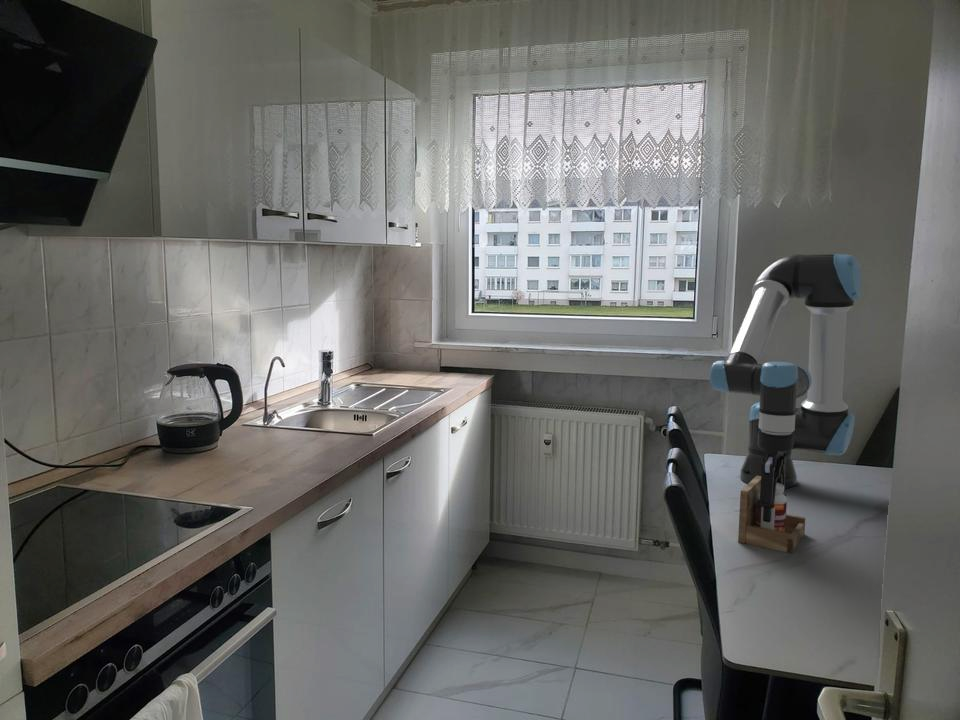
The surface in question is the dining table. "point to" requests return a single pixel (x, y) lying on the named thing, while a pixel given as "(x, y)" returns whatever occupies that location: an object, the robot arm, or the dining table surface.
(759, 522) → the pill bottle
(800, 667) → the dining table surface
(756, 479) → the brown wooden l-shaped frame
